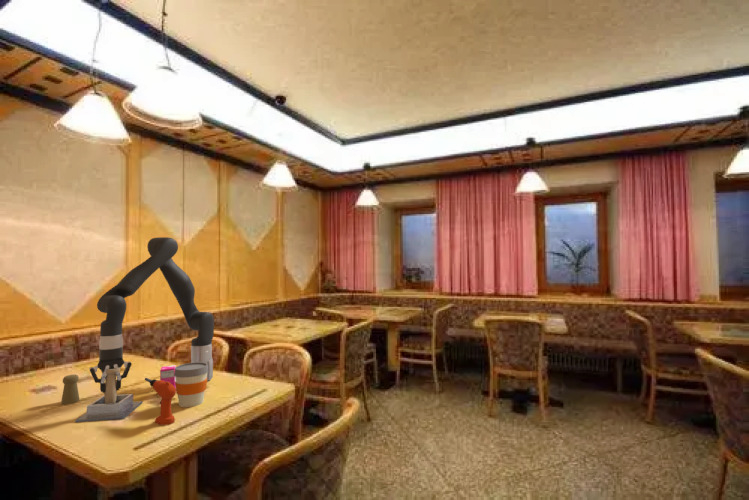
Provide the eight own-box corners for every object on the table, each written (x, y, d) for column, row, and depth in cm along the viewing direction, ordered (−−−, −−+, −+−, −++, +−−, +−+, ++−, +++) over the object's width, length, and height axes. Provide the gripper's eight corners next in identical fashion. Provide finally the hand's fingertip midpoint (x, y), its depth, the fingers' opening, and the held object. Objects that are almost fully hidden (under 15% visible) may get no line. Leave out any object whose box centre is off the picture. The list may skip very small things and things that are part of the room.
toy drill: (149, 407, 146) (152, 369, 145) (177, 423, 136) (181, 383, 136) (136, 412, 141) (139, 372, 141) (164, 429, 132) (167, 386, 131)
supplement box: (161, 392, 168) (161, 366, 168) (176, 390, 170) (176, 364, 171) (159, 396, 163) (160, 369, 163) (175, 394, 165) (175, 367, 165)
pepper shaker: (83, 400, 159) (83, 373, 160) (67, 405, 153) (67, 377, 154) (73, 398, 161) (73, 372, 162) (57, 403, 155) (57, 376, 156)
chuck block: (142, 403, 155) (142, 391, 155) (123, 418, 139) (123, 405, 139) (99, 406, 152) (99, 394, 152) (75, 422, 136) (75, 409, 136)
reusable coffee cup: (173, 411, 146) (174, 372, 146) (174, 401, 157) (174, 364, 157) (209, 405, 151) (209, 367, 152) (207, 395, 162) (207, 360, 163)
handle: (111, 410, 143) (112, 370, 143) (97, 409, 144) (98, 369, 144) (122, 405, 147) (123, 366, 148) (109, 404, 149) (109, 366, 149)
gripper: (89, 351, 139) (88, 398, 138) (134, 345, 148) (133, 389, 148) (87, 347, 145) (87, 393, 144) (131, 342, 154) (130, 384, 153)
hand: (110, 390), depth 146 cm, fingers closed on handle, 4 cm apart
